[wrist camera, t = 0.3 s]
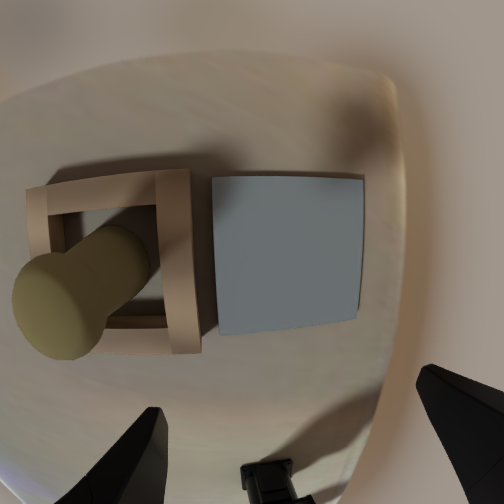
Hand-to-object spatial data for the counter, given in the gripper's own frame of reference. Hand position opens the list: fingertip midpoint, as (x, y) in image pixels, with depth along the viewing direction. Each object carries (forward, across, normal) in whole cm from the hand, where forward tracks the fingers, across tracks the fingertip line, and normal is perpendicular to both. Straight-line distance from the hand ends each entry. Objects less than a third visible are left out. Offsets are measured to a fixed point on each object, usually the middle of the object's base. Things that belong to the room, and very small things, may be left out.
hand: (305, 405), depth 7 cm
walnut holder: (+14, +11, -1) cm, 18 cm away
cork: (+14, +11, -1) cm, 18 cm away
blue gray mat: (+14, -3, 0) cm, 15 cm away
